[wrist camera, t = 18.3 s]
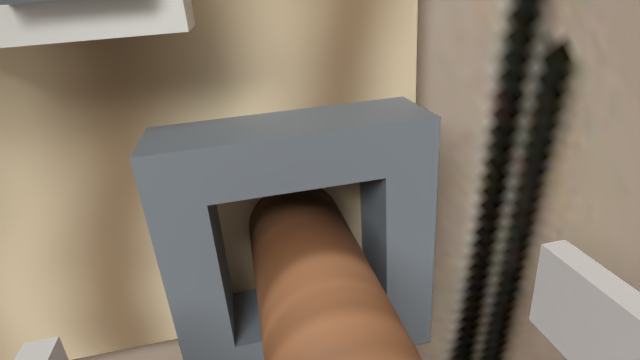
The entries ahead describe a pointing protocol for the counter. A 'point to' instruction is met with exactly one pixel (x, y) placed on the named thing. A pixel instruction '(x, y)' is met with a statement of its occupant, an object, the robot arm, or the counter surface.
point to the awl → (319, 285)
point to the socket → (280, 178)
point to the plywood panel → (127, 129)
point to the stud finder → (89, 20)
